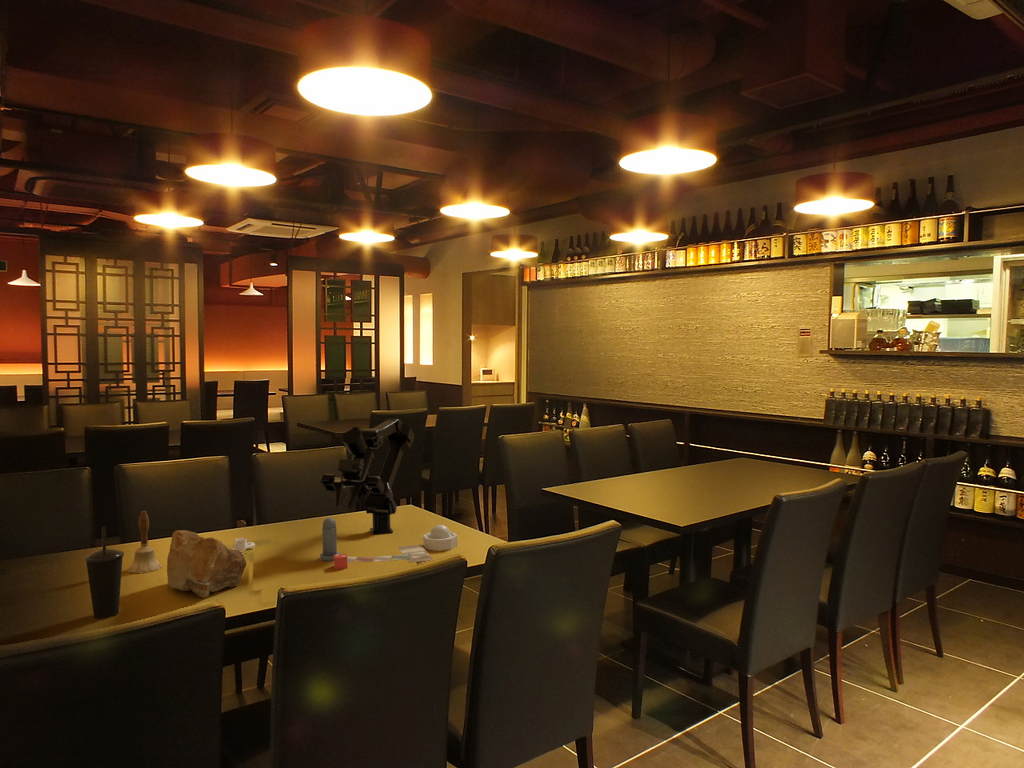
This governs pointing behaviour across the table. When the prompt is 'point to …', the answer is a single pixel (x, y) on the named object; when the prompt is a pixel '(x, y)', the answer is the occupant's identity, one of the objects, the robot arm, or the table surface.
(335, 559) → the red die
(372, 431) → the robot arm
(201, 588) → the rough brown rock
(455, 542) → the dome housing
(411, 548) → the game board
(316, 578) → the table surface
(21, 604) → the table surface
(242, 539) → the teacup and saucer
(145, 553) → the hand bell
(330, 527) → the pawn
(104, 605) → the drinking cup
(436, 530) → the dome button
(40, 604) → the table surface
